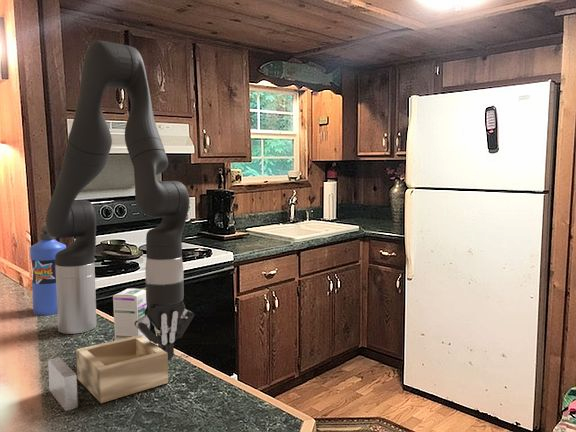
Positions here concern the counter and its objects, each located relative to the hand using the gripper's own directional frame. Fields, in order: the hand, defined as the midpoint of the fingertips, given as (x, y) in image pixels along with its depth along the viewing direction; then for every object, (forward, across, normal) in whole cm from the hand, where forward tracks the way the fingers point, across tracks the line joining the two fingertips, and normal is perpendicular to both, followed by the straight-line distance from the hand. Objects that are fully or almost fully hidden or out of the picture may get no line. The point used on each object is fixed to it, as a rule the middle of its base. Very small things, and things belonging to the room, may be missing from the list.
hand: (166, 359), depth 101 cm
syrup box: (+2, +2, -12) cm, 12 cm away
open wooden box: (+2, +9, 0) cm, 10 cm away
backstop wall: (+2, +20, 0) cm, 20 cm away
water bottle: (+2, +6, -59) cm, 59 cm away
